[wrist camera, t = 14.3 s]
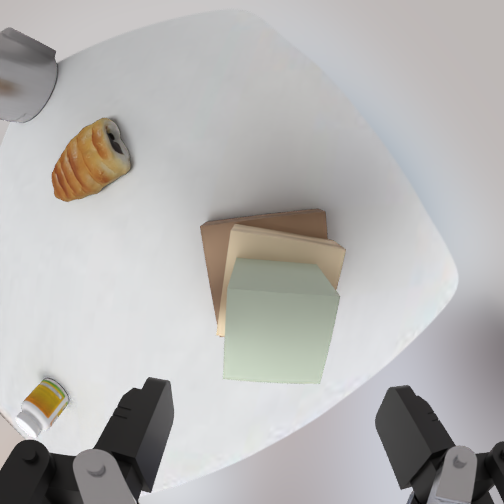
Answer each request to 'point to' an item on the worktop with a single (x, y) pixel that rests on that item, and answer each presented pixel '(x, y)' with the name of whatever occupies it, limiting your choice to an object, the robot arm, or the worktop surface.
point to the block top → (279, 255)
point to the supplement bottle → (42, 408)
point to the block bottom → (219, 231)
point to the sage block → (278, 322)
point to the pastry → (90, 161)
